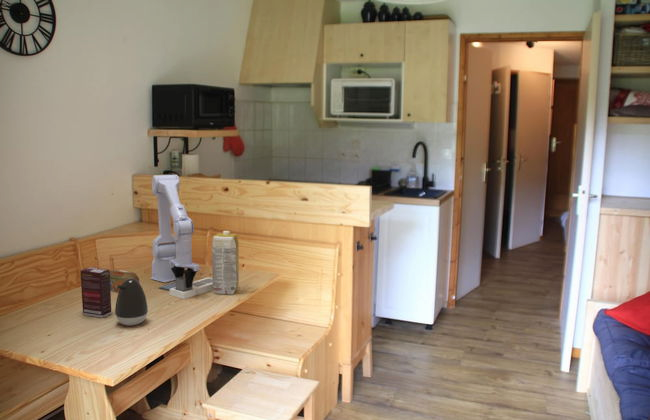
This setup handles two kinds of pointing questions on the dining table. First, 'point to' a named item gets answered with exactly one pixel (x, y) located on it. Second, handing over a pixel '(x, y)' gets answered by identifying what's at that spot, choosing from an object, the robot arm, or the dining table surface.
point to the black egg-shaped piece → (131, 303)
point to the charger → (182, 284)
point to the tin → (120, 278)
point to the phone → (168, 286)
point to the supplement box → (96, 292)
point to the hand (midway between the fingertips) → (184, 285)
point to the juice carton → (225, 263)
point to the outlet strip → (194, 288)
